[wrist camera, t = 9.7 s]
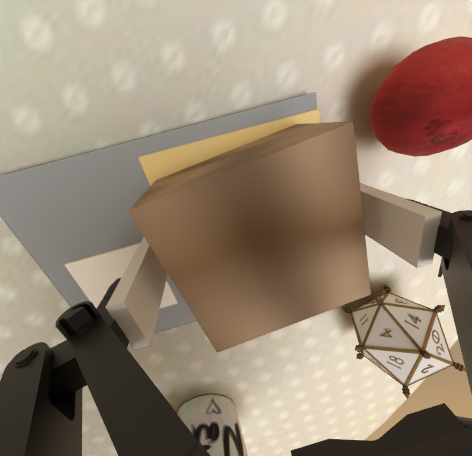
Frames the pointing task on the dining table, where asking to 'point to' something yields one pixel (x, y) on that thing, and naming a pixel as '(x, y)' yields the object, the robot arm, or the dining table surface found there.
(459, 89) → the red oval piece
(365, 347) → the game die
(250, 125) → the board
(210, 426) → the mug
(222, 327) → the walnut slab
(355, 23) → the dining table surface
